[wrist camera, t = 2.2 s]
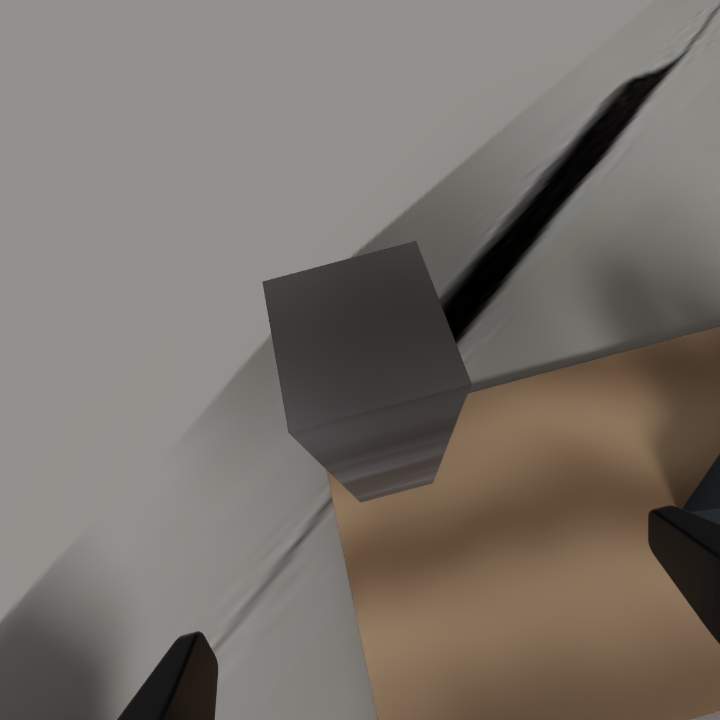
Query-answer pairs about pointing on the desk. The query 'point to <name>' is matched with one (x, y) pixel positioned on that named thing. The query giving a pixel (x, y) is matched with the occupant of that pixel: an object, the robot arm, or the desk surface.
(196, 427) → the desk surface
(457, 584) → the pull board
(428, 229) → the desk surface
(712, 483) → the watch
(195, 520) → the desk surface
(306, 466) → the desk surface
